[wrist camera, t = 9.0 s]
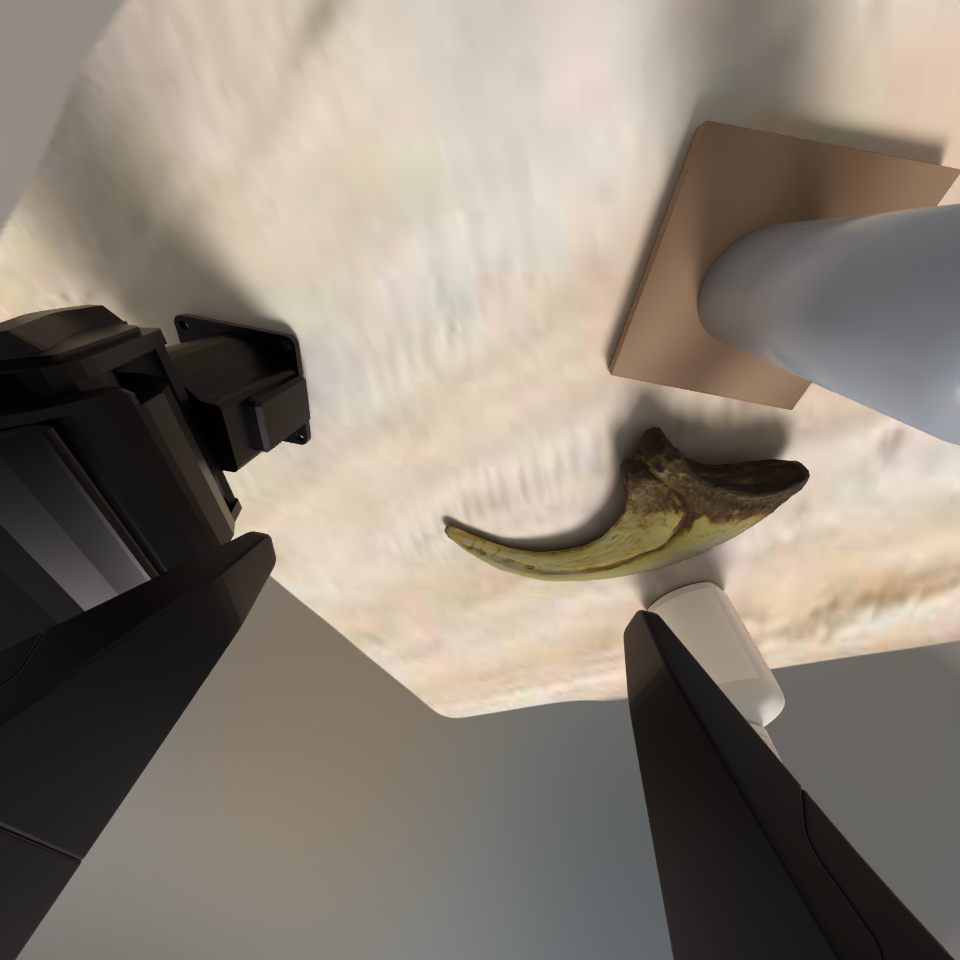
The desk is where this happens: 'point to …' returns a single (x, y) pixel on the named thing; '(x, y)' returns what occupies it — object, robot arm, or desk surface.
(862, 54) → the desk surface
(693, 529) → the claw
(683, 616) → the eye dropper bottle
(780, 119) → the desk surface
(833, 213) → the coaster
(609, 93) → the desk surface
